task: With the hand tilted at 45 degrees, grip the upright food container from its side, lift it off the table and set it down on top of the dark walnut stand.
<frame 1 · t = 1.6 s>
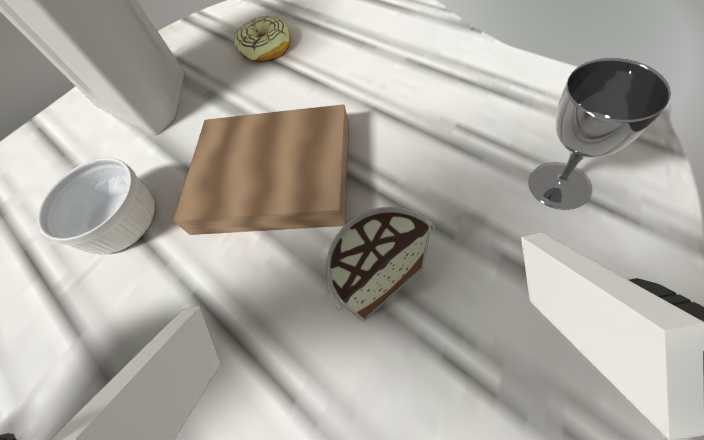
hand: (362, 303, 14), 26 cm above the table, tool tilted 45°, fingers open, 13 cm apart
wine glass: (559, 186, 44), on the table
white triangular vase: (154, 95, 68), on the table
ramekin: (122, 222, 53), on the table
decorated donut: (266, 48, 70), on the table
walnut stand: (273, 176, 52), on the table
food container: (376, 276, 42), on the table
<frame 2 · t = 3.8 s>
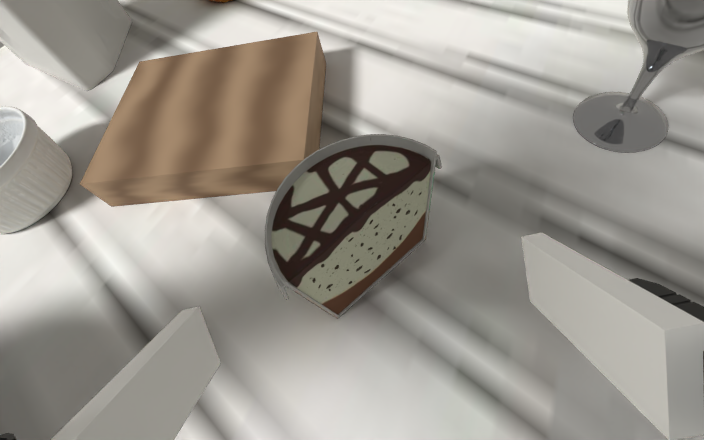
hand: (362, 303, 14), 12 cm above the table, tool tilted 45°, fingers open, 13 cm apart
wine glass: (617, 122, 31), on the table
white triangular vase: (93, 47, 55), on the table
ramekin: (31, 194, 41), on the table
walnut stand: (226, 130, 40), on the table
food container: (358, 253, 29), on the table
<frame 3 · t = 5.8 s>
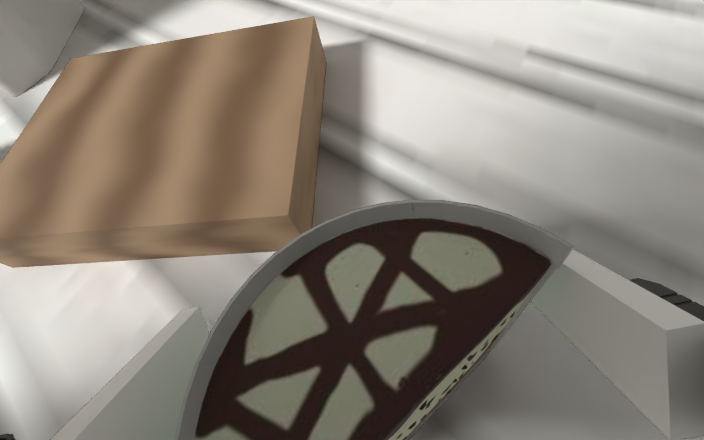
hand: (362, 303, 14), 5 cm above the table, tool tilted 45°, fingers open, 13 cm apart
white triangular vase: (33, 41, 44), on the table
walnut stand: (184, 154, 28), on the table
food container: (376, 372, 18), on the table, touching gripper
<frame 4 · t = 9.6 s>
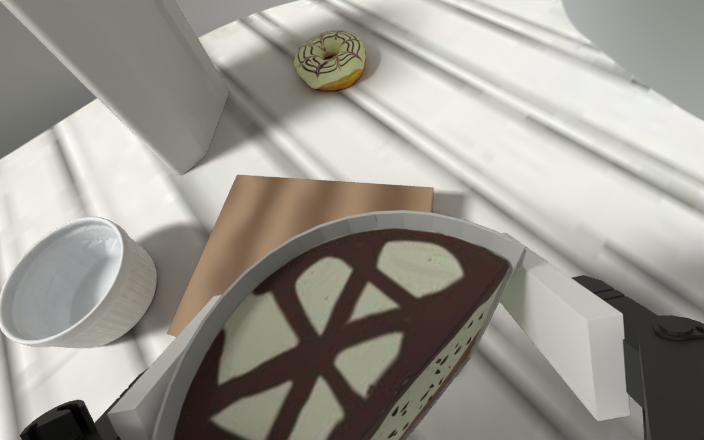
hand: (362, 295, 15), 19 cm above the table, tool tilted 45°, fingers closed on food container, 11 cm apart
white triangular vase: (188, 117, 54), on the table
ramekin: (115, 297, 41), on the table
decorated donut: (333, 72, 54), on the table
walnut stand: (316, 273, 37), on the table
food container: (362, 384, 18), point 14 cm above the table, touching gripper
when the fingers open (10 cm above the table, at t = 12.8 s): food container stays where it is, resting on walnut stand.
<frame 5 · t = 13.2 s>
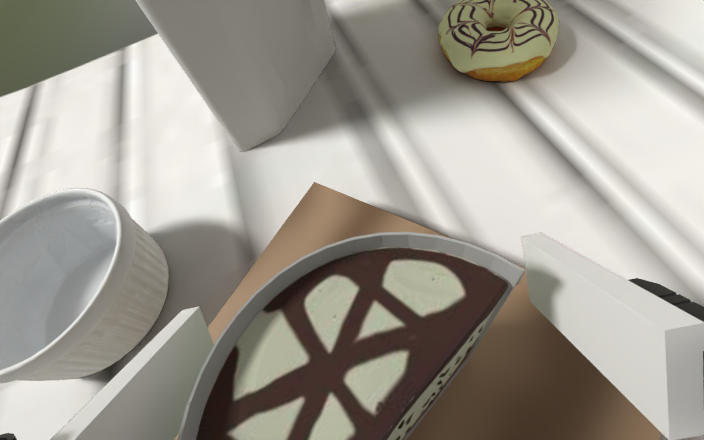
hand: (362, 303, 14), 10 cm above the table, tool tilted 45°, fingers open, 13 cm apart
white triangular vase: (275, 72, 40), on the table
ramekin: (110, 303, 29), on the table
decorated donut: (492, 53, 36), on the table
walnut stand: (395, 390, 22), on the table
food container: (364, 386, 18), point 4 cm above the table, touching walnut stand
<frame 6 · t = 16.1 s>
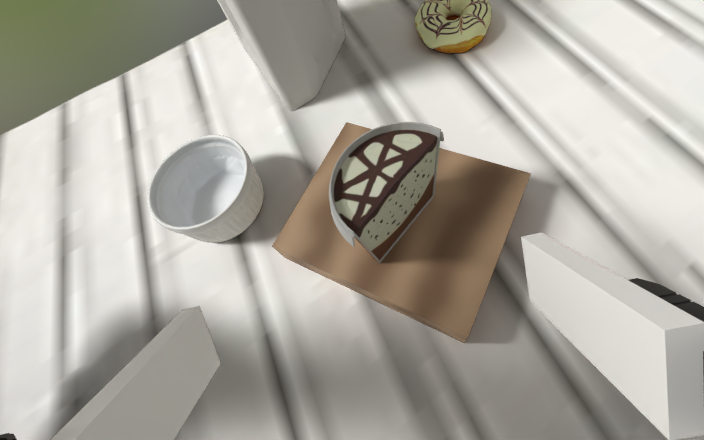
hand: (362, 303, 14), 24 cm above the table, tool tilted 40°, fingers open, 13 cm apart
white triangular vase: (304, 55, 58), on the table
ramekin: (227, 206, 48), on the table
decorated donut: (452, 33, 53), on the table
walnut stand: (399, 226, 41), on the table
food container: (384, 214, 38), point 4 cm above the table, touching walnut stand
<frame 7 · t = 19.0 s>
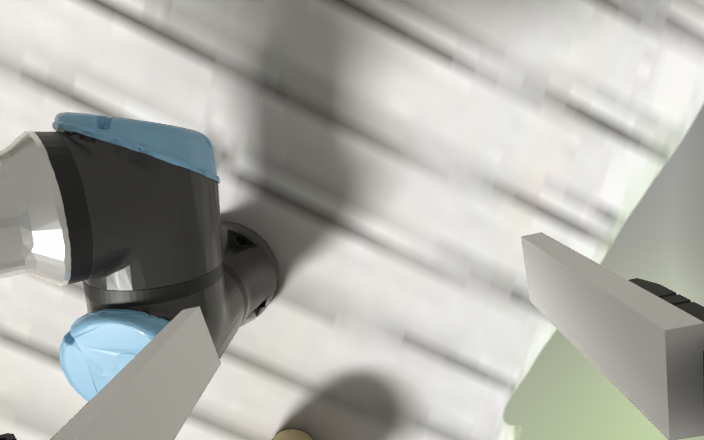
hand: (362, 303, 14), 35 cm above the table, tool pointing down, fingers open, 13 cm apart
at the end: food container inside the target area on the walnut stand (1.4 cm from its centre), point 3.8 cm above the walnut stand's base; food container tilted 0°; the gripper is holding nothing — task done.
